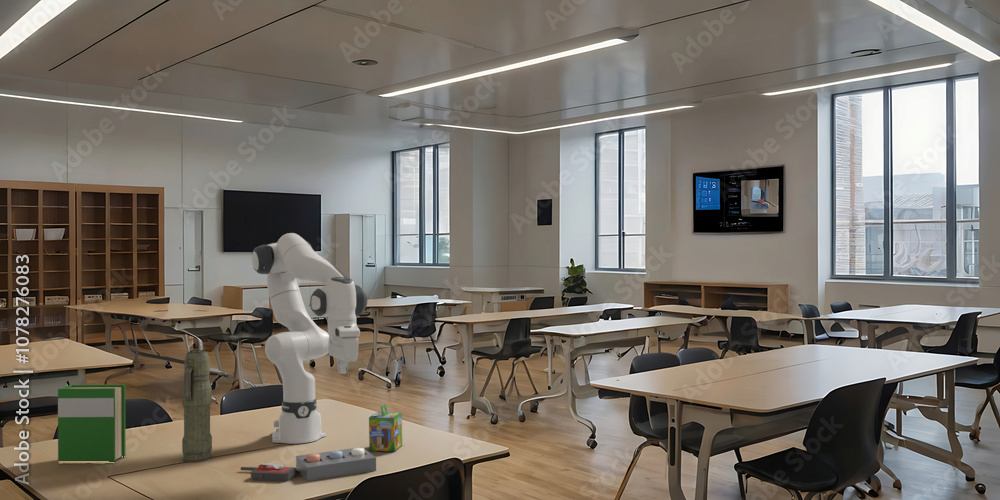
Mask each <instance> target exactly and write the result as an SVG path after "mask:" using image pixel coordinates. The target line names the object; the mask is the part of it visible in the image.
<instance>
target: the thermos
mask: <svg viewBox="0 0 1000 500" xmlns="http://www.w3.org/2000/svg"><path fill="white" fill-rule="evenodd" d="M183 361H184V362H183V363H184V365H183V366H184V367H183V368H184V372H183V373H184V376H183V377H184V381H183V387H182V389H181V390H182V396H181V398H182V408H183V432H184V433H183V437H182V441H181V447H182V448H181V449H182V451H181V452H182V461H183V462H186V463H197V462H205V461H208V460H210V459H211V458H212V449H213V436H212V432H211V406H212V405H211V404H212V403H213V402H212V400H213V399H212V398H213V397H212V396H213V395H212V393H213V392H212V390H213V389H212V385H211V381H210V380H211V379H210V372H211V371H210V369H211V368H210V356H209V353H208V351H205V350H203V349H202V350H201V349H200V350H199V349H197V350H189V352H187V353H186V355H185V357H184V360H183Z"/></svg>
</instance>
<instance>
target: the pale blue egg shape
mask: <svg viewBox="0 0 1000 500" xmlns="http://www.w3.org/2000/svg"><path fill="white" fill-rule="evenodd" d="M339 450H340V449H336V450H330V451H331V452H329V451H328V452H329V459H330V460H333V459H340V458H343V452H342V451H339Z"/></svg>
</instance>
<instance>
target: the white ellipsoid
mask: <svg viewBox="0 0 1000 500" xmlns="http://www.w3.org/2000/svg"><path fill="white" fill-rule="evenodd" d="M352 448H353V449H352V450H351V455H352V456H353V457H354V456H361V455H364V449H365V448H364V447H362V448H358V447H352Z"/></svg>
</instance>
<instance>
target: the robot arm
mask: <svg viewBox="0 0 1000 500" xmlns="http://www.w3.org/2000/svg"><path fill="white" fill-rule="evenodd" d="M251 265H252V267H253V270H254V271H255V272H256V273H257V274H259V275H267V277H266V281H267V291H268V292H267V293H268V297H269V301H270V304H271V309H272V313H273V316H274V319H275V321H276V322H278V324H281V325H282V326H284V327H286V328H287V329H288V331H284V332H282V331H281V332H279V333H277V334H274V335H271V336H269V337H268V338H267V340H266V342H265V345H264V351H265V352H264V353H265V355H266V357H267V359H268V360H269V361H270V362H271V363H272V364H273V365H275V367H277V369H278V372H279V373H280V375H281V378H282V379H281V380H282V391H283V393H282V394H283V399H282V401H281V412H280V414H279V417H278V419H277V420H273V428H276V429H274V430H272V434H271V437H272V441H271V442H272V443H274V444H275V443H277V444H278V443H282V444H288V445H289V444H294V445H295V444H306V443H311V442H315V441H318V440H320V439H321V438H324V437H326V436H327V435H326V432H324V431H322V417H321V413H320V412H318V410H317V408H318V406H317V404H318V403H317V398H316V379H315V376H314V375H313V374H312V373H311V372H309V371H306V370H305V367H304V362H305V361H310V360H311V361H312V360H317V359H319V358H322V357H324V356H327V355H329V356H331V357H333V358H335V359H336V365H337V372H338V373H339V374H342V375H344V374H347V367H348V365H349V363H353V362H355V363H356V362H357V360H358V358H359V357H358V356H359V337H360V336H361V330H360V328H359V327H358V324H357V317H359V316H360V315H362V313H363V312H364V311H365V309H366V308H367V306H368V296H367V294H366V292H365V291H364V289H363V288H362V287H361V286H360V285H358V284H355V282H354V280H353V279H352V278H349V277H348V276H346V275H345V274H344V273H343V272H342V271H341V270H340V268H338V267H337V266H336V265H335V264H333V263H332V262H330V261H329V260H326V259H325V258H324V257H322V256H320V255H319V254H318V253H317V252H316V251H315V250H314V249H313V247H312V245H311V243H310V242H309V241H307V240H306V239H304V238H303V237H302V236H300V235H299V234H297V233H295V232H289V233H288V232H287V233H285V234H283V235H281V237H280V238H279V239H278V240H277V242H272V243H269V244H261V245H259V246H256V247H254V249H253V251H252V252H251ZM297 279H298V280H302V281H311V282H319V283H323V284H325V285H323V286H321V287H319V288H316V289H314V291H313V292H312V294H311V296H310V299H309V300H310V310H311V311H312V313H313V314H314V315H316V316H317V317H321V318H327V331H326V330H325V329H323V328H321V327H319V326H318V325H317V324H316V322H315V321H314V320H313V319H312V318H311V317H310V315H309V312H308V311H307V308H306V306H305V303H304V300H303V297H302V294H301V289H300V287H299V284H298V281H297Z"/></svg>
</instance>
